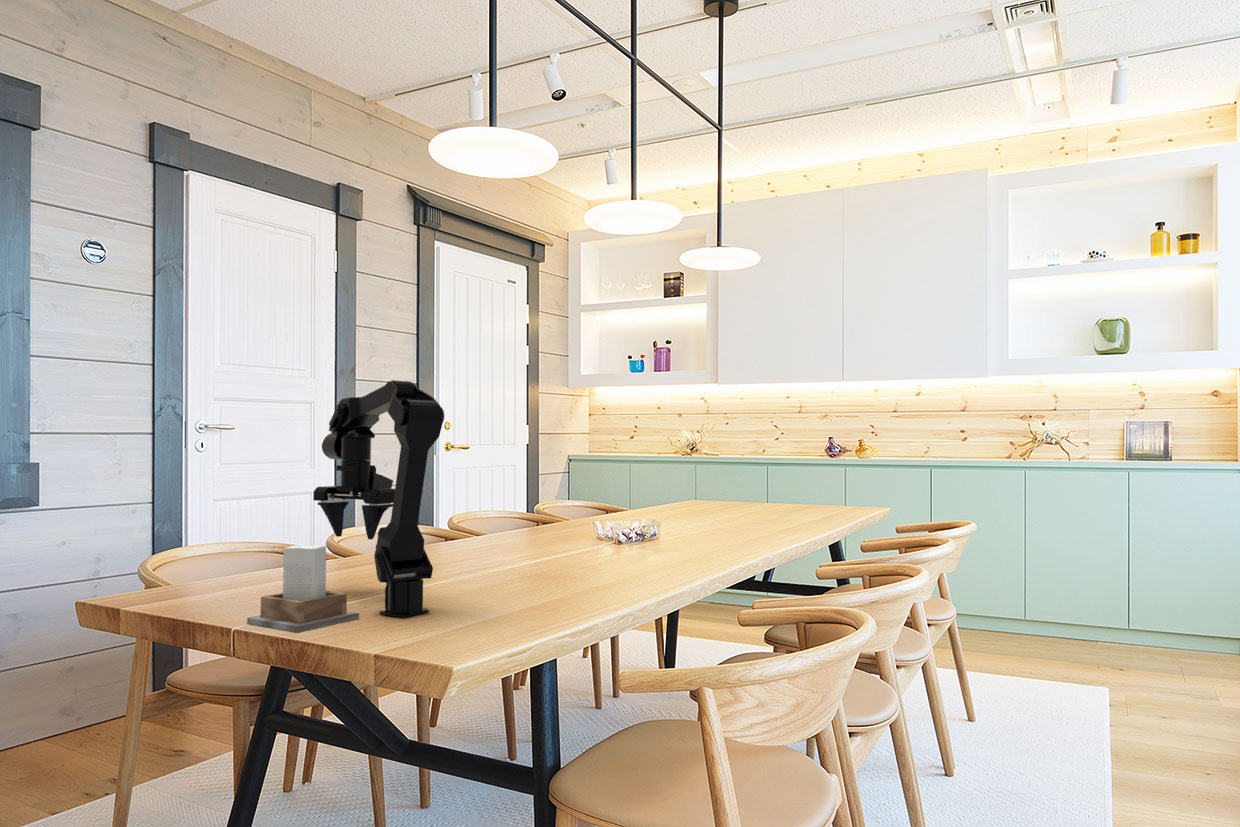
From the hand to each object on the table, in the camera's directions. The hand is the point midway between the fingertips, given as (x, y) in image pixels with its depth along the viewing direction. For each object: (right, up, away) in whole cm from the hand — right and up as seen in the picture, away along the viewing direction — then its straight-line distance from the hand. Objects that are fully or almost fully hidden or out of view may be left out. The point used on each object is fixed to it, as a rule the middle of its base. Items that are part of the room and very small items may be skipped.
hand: (354, 537), depth 168 cm
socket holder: (-2, -11, -23) cm, 25 cm away
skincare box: (-2, -10, -23) cm, 25 cm away
